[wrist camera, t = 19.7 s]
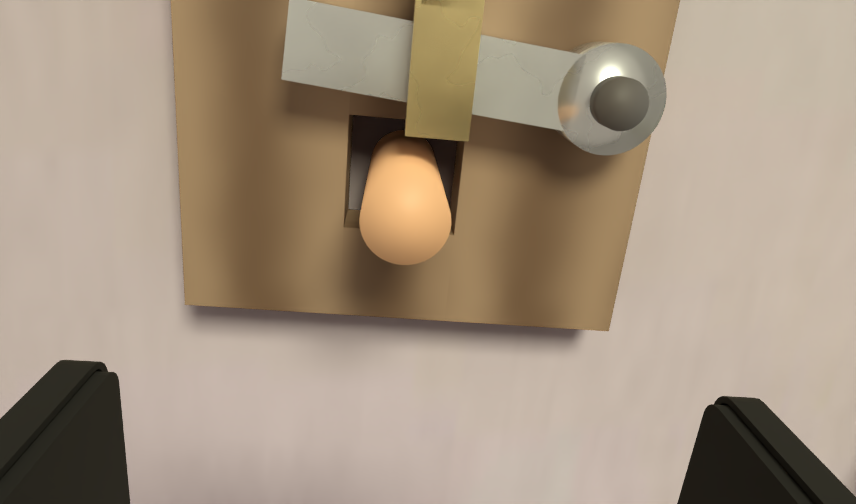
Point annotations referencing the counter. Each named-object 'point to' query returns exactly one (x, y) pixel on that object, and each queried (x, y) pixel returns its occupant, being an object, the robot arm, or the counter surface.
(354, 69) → the latch bar
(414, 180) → the lock pin
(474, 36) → the keeper
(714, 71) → the counter surface
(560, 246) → the base plate
